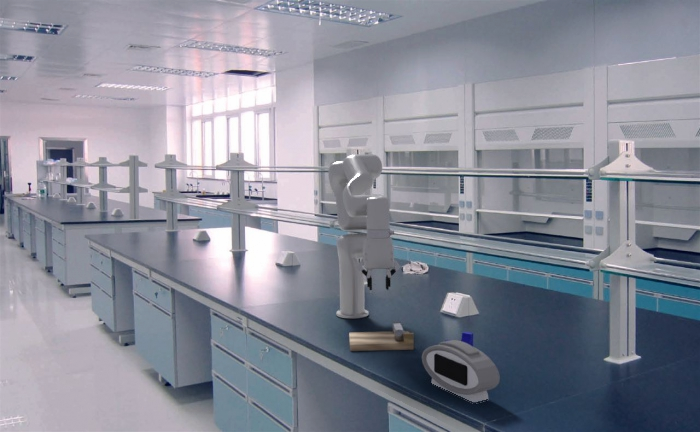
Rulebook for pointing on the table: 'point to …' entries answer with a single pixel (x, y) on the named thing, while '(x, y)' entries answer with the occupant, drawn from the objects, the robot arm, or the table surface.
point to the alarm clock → (461, 369)
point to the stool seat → (379, 341)
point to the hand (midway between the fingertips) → (378, 288)
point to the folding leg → (398, 331)
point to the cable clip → (467, 338)
